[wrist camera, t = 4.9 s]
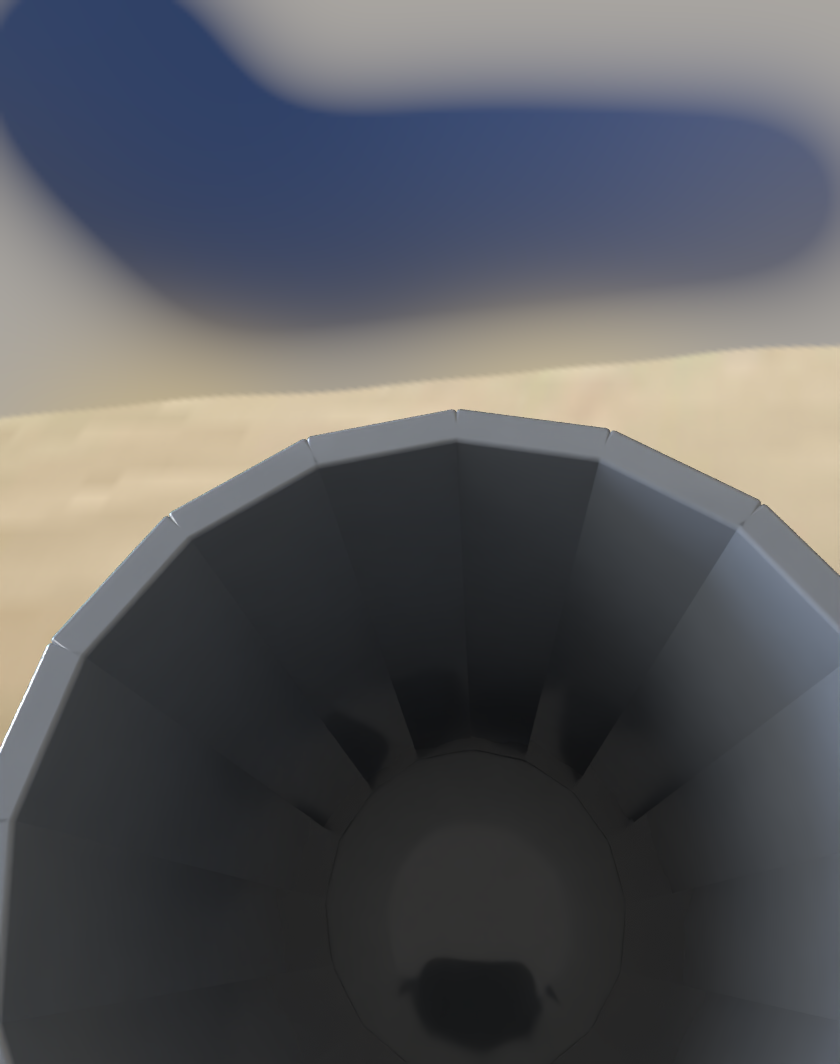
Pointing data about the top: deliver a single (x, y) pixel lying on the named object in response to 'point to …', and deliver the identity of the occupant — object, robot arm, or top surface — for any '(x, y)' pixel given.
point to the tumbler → (435, 770)
